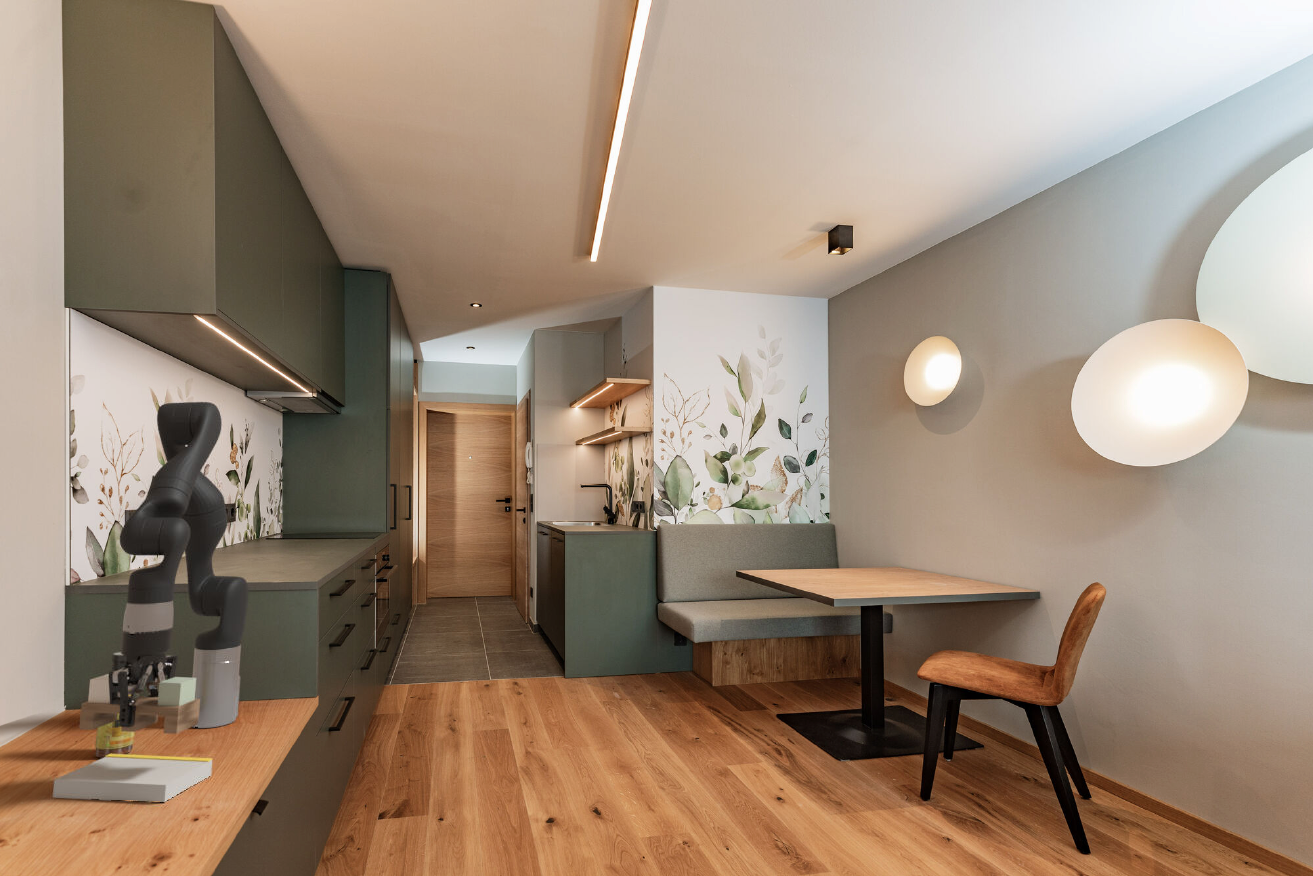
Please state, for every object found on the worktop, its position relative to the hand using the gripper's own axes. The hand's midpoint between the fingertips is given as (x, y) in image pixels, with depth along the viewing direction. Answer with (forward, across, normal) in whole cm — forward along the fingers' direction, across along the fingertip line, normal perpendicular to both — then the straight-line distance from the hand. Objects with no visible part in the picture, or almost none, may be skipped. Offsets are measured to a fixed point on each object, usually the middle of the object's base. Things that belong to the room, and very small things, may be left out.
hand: (140, 720), depth 130 cm
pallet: (+1, 0, 0) cm, 1 cm away
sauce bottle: (+12, -14, -16) cm, 24 cm away
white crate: (-4, 0, -6) cm, 7 cm away
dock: (+11, 0, 0) cm, 11 cm away
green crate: (-4, 0, +6) cm, 7 cm away
